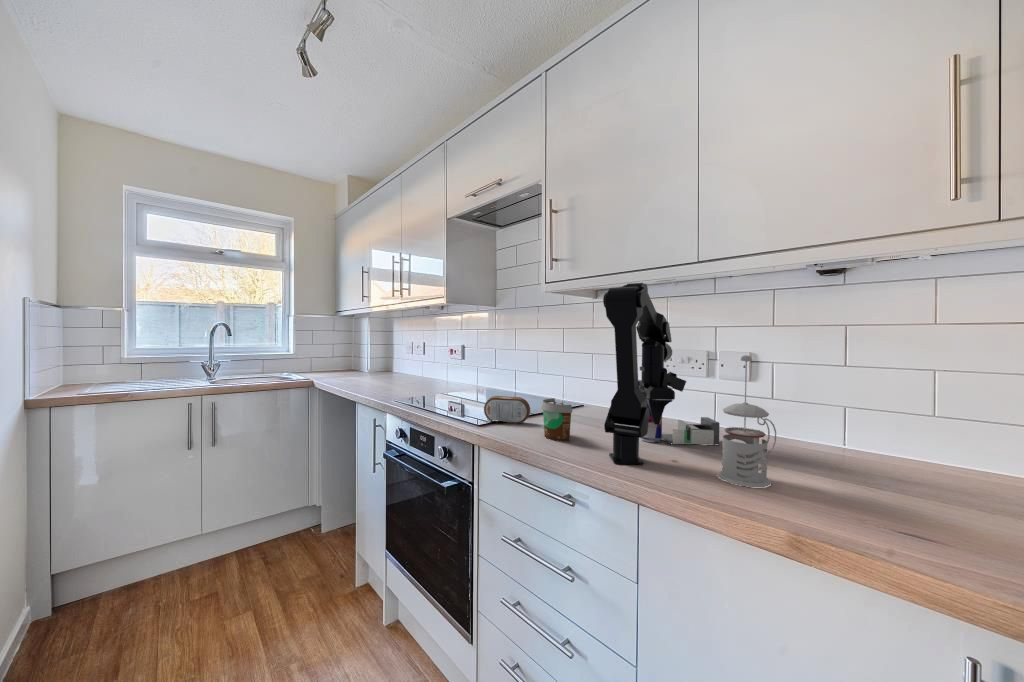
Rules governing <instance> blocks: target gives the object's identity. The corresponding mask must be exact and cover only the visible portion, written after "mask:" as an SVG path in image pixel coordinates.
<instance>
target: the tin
mask: <svg viewBox="0 0 1024 682" xmlns="http://www.w3.org/2000/svg"><path fill="white" fill-rule="evenodd" d="M483 412H484V415H485V417H486V419H487V420H489V421H490V420H498V421H503V422H507V423H506V424H514V423H519V424H523V423H524V422H525V421H526V420H527V419H528V418H529V417H530V414H531V407H530V404H529V402H528V401H527V400H526V399H525V398H523V397H520V396H505V395H493V396H490V397H489V398H488V400H486V402H485V403H484V407H483Z"/></svg>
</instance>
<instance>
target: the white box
mask: <svg viewBox="0 0 1024 682" xmlns="http://www.w3.org/2000/svg"><path fill="white" fill-rule="evenodd" d="M689 424H690V423H687V422H685V421H684V420H682V419H677V429H681V430H688V440H690V430H697V429H699V428H697V427H695V426H693V425H689Z"/></svg>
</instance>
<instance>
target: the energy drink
mask: <svg viewBox="0 0 1024 682" xmlns="http://www.w3.org/2000/svg"><path fill="white" fill-rule="evenodd" d="M647 398H648V397H647ZM647 408H649V406H648V403H647ZM662 431H663V416H662V417H661V420H660V423H659V425H655V424H654V421H653V418H652V415H651V412H650V409H649V423H648V432H647V435H645V436H644V437H642V438H640V439H641V441H642V440H643V441H642V442H644V441H646V442H645V443H649V442H659V443H661V442H662V441H663V439H662V434H663V432H662Z"/></svg>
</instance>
